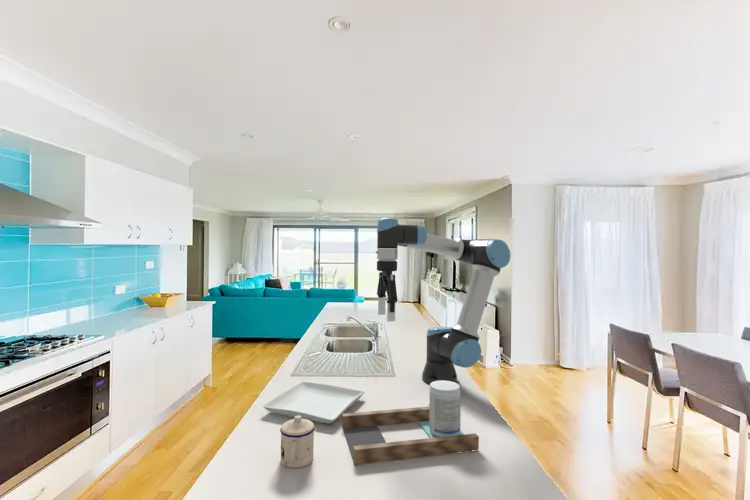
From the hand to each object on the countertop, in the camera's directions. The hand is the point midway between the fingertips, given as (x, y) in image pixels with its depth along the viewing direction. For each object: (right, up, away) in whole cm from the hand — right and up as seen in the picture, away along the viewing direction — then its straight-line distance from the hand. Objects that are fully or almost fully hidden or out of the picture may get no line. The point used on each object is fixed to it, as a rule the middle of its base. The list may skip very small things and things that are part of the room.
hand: (386, 317), depth 142 cm
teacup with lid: (-25, -32, -39) cm, 57 cm away
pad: (+18, -32, -22) cm, 43 cm away
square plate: (-25, -32, -4) cm, 41 cm away
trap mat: (-7, -32, -28) cm, 43 cm away
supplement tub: (+18, -32, -22) cm, 43 cm away
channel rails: (+5, -32, -25) cm, 41 cm away
